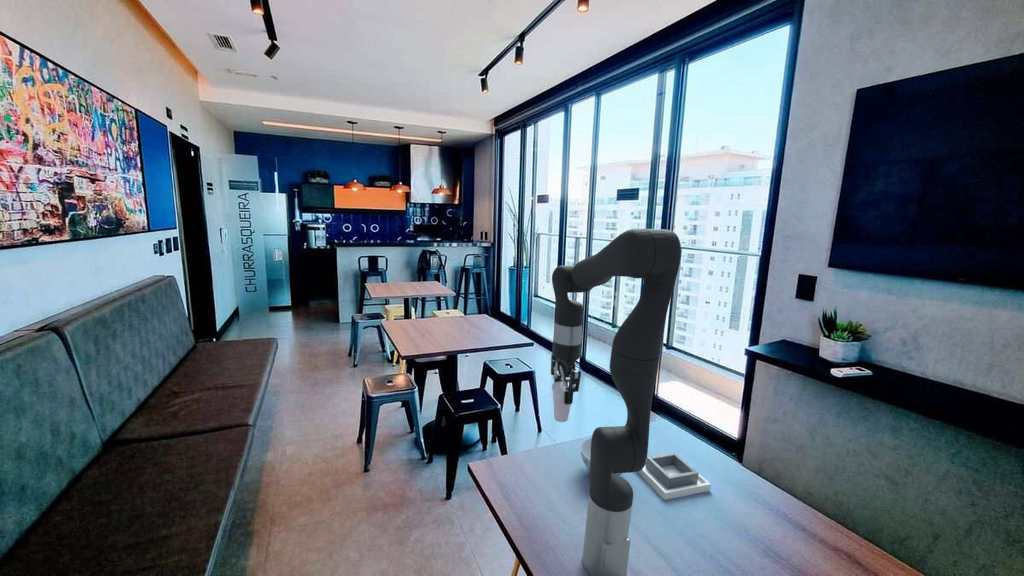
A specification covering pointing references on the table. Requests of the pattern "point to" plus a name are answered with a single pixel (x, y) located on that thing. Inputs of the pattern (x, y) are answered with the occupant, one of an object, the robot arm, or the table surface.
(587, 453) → the chinaware
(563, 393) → the smoothie
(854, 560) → the table surface
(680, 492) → the white square tray
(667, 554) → the table surface
